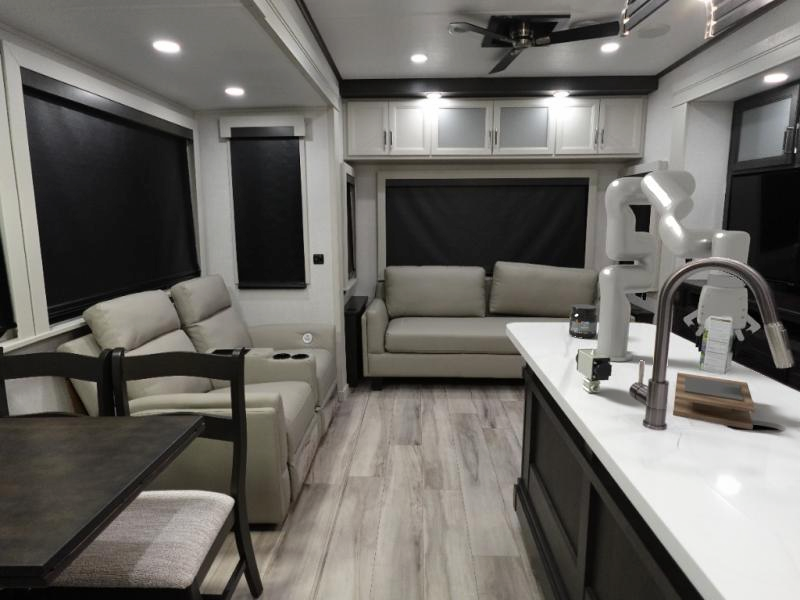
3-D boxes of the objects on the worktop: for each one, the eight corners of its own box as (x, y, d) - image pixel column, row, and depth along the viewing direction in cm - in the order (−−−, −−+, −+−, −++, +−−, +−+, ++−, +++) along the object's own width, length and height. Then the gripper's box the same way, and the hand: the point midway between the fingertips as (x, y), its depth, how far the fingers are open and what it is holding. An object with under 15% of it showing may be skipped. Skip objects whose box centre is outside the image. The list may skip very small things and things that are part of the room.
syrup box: (704, 365, 126) (710, 310, 123) (731, 370, 122) (738, 313, 119) (698, 370, 122) (704, 313, 119) (725, 375, 118) (733, 317, 115)
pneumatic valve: (593, 399, 129) (596, 356, 127) (573, 383, 141) (575, 344, 138) (613, 398, 130) (616, 355, 128) (591, 383, 141) (594, 343, 139)
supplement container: (582, 331, 201) (584, 303, 198) (602, 337, 191) (604, 307, 189) (562, 334, 196) (564, 305, 194) (582, 340, 187) (584, 310, 185)
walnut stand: (675, 389, 136) (677, 371, 135) (744, 400, 128) (747, 381, 127) (672, 414, 119) (675, 394, 118) (752, 429, 111) (755, 407, 110)
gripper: (767, 282, 116) (758, 354, 120) (684, 277, 125) (677, 344, 129) (772, 287, 110) (761, 362, 113) (684, 281, 119) (676, 351, 122)
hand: (717, 352), depth 121 cm, fingers closed on syrup box, 6 cm apart
